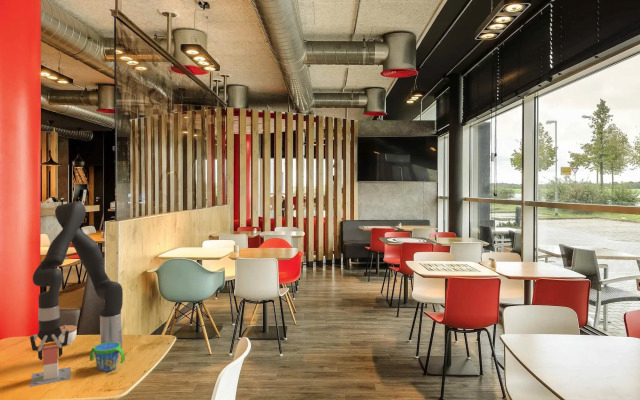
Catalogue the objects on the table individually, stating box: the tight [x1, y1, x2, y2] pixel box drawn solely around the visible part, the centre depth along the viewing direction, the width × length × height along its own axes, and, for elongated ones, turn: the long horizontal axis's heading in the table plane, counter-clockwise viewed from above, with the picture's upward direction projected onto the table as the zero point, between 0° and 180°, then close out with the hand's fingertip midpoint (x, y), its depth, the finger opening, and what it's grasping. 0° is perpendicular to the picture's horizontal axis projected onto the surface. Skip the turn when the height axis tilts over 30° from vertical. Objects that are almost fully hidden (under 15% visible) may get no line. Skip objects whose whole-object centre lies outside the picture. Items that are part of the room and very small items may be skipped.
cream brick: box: [42, 362, 59, 380], centre depth 185 cm, size 5×5×6 cm
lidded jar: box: [54, 324, 78, 346], centre depth 226 cm, size 11×11×9 cm
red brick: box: [42, 344, 59, 365], centre depth 184 cm, size 5×5×6 cm
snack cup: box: [89, 342, 126, 373], centre depth 194 cm, size 16×10×10 cm
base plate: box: [29, 366, 72, 388], centre depth 185 cm, size 14×14×1 cm
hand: (50, 357), depth 184 cm, fingers open, 6 cm apart
